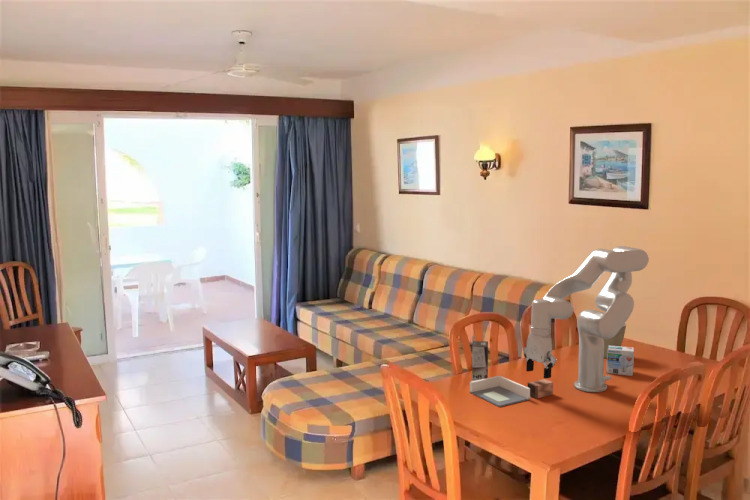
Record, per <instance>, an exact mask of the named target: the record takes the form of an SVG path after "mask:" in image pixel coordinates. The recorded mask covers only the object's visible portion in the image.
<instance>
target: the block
mask: <svg viewBox="0 0 750 500" xmlns="http://www.w3.org/2000/svg"><path fill="white" fill-rule="evenodd" d="M527 387H528V388H530V398H533V399H536V400H537V399H539V398H544V397H547V396H553V395H554V382H553V381H551V380H549V379H547V378H546V379H545V378H543V379H539V380H538V379H537V380H534V381H530V382H527Z"/></svg>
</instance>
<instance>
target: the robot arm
mask: <svg viewBox="0 0 750 500" xmlns="http://www.w3.org/2000/svg"><path fill="white" fill-rule="evenodd" d="M649 260H650V257H649V254H648V253H647V252H646V251H645V250H643V249H640V248H636V247H630V246H623V245H619V246H615V247H613V249H607V248H596V249H594V250H592V251H591V252H590V254H588V256H587V257H586V258H585V259H584V260H583V262H582V263H581V264H580V265H579V267H577V269H576V270H575V271H574V272H573V273H572V274H571V275H569V276H567V277H565V278H564V279H562V280H559V282H557V283H556V284H554V285H553V286H552V287H550V289H549V290H548V291H547V292H546V293H545V295H544V296H543V298H537V299H534V300H532V302H531V314H530V326H529V328H530V332H529V333H528V336H527V340H526V346H525V347H524V348H523V349H522V351H523V353H524V354H523V355H524V357H525V361H526V368H525V369H526V372H533V371H534V369H535V368H534V367H535V364H534V363H535V362H538V363H540V364H541V363H542V364H543V365H544V368H543V379H546V380H547V379H551V378H552V369H553V368H554V366H555V365H556V363H557V358H556V357H555V356H554V355H553V343H552V342H553V341H552V336H551V333H552V332H551V329H552V319H556V320H567V319H569V318H571V316H572V315H573V313H574V306H573V304H572V303H571V302H570V301H568V300H566V298H567V297H568V296H570V295H572V294H574V293H578V292H583V291H587V290H589V289H591V288H592V287H593V286H594V284H595V283H596V282H597V281H598V280H599V278H600V277H601V276H603V274H604V273H605V272H606V273H610V276H609V278H608V280H607V281H606V282H605V284H604V285H603V286H602V288H601V289H600V290H599V293H598V294H597V295H596V297H595V299H594V303H595V304H594V305H595V307H596V308H597V309H598V310H600V311H598V310H595V309H593V308H591V309H590V308H589V309H584V310H582V311H581V312H580V313H579V314H578V315H577V321H576V323H577V324H576V325H577V331H578V374H577V375H578V376H577V380H576V381H574V384H573V387H575V389H577V390H579V391H583V392H588V393H601V392H604V391H607V389H608V384H606V381H610V380H612V376H611V374H608V375H607V374H606V375H604V366H605V365H604V362H605V358H604V340H603V339H611V338H613V337H614V336H615V335H616V334H617V333H618V332H619V330H620V329H621V328H622V326H623V325H624V323H626V322H627V321H628V319H629V318H630V317H631V315H632V314H633V311H634V307H635V301H634V298H633V296H631V294H629V293H628V291H629V289H630V288H631V286H632V283H633V275H632V273H633V272H640V271H641V270H642V271H643V270H644V269H645V268H646V267H648V264H649ZM601 311H602V312H601ZM604 312H605V313H604Z"/></svg>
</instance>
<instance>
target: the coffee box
mask: <svg viewBox="0 0 750 500" xmlns="http://www.w3.org/2000/svg"><path fill="white" fill-rule="evenodd" d="M471 346H472V347H471V348H472V349H471V353H472V354H471V361H472V362H471V363H472V364H471V368H472V369H471V371H472V372H471V374H472V375H471V379H472V380H471V381H476V380H481V379H485V378H489V341H487V340H486V341H485V340H484V341H482V340H477V341H476V340H473V341H472V345H471Z"/></svg>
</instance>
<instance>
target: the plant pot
mask: <svg viewBox="0 0 750 500" xmlns="http://www.w3.org/2000/svg"><path fill="white" fill-rule="evenodd" d="M626 328H627V323H626V322H625V323H624V325H623V326H622V328H621V329H620V330H619V332H618V333H617V334H616V335H615V336H614V337H613V338H611V339H603V340H604V359H607V352H608V346H609V345H610V346H621V347H622V345H623V342H624V337H625V333H626Z"/></svg>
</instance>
